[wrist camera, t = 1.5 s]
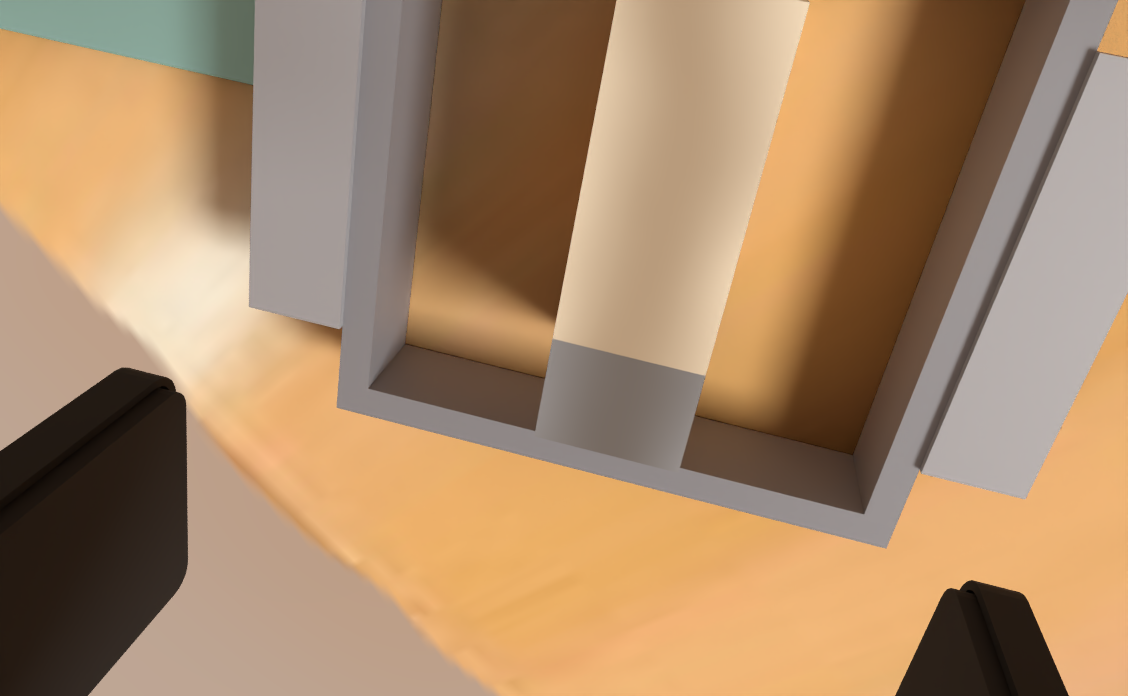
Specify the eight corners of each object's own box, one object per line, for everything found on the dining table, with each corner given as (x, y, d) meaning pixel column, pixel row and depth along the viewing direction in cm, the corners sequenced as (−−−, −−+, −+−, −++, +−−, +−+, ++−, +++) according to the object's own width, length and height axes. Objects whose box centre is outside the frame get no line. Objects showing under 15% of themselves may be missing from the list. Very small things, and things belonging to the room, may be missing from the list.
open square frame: (1222, -63, 23) (1302, -61, 20) (960, 508, 31) (985, 579, 27) (325, -232, 25) (260, -255, 22) (298, 342, 33) (247, 389, 30)
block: (795, -16, 25) (809, 2, 19) (693, 361, 30) (678, 473, 24) (655, -44, 25) (623, -35, 19) (578, 333, 31) (534, 436, 25)
